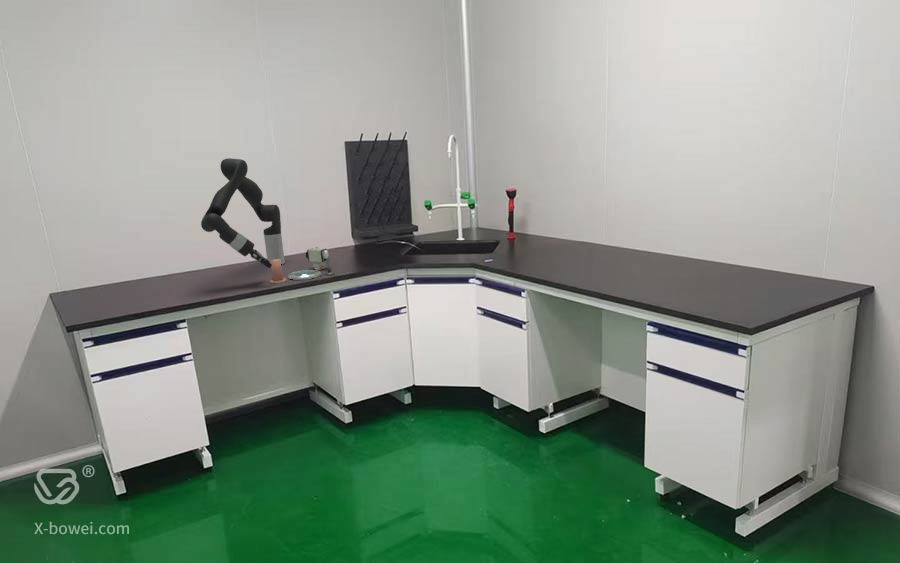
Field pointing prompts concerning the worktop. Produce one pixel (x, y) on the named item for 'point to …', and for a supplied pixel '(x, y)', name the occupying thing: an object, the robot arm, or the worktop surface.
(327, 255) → the dial post
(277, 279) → the cast cover
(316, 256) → the pneumatic valve
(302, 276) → the disc
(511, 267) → the worktop surface
